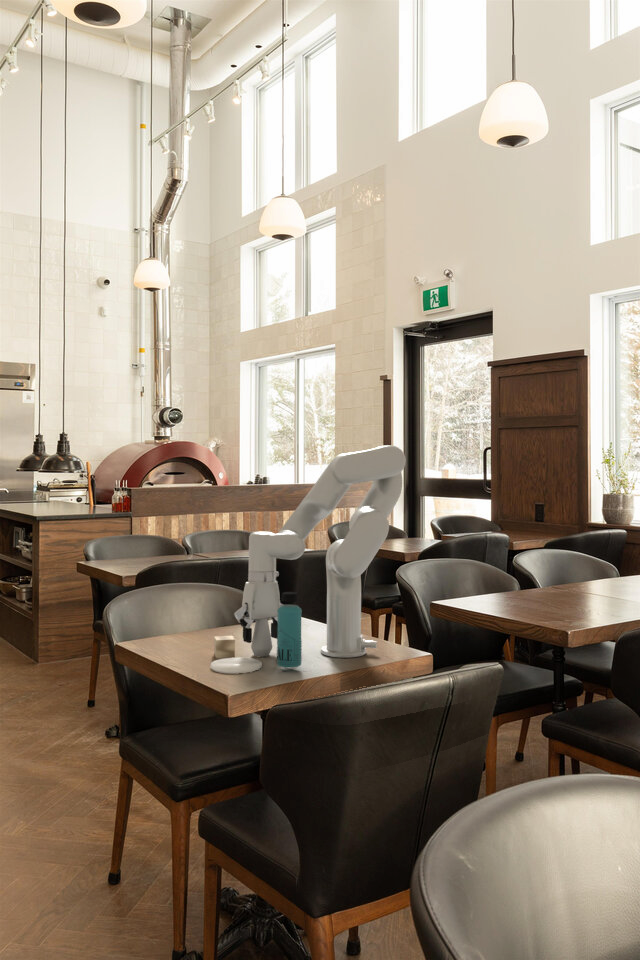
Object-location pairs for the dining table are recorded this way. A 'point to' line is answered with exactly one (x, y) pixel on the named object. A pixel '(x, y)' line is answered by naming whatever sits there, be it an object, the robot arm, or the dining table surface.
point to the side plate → (235, 665)
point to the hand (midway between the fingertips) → (261, 639)
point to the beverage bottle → (289, 632)
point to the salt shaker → (261, 638)
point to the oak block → (224, 646)
